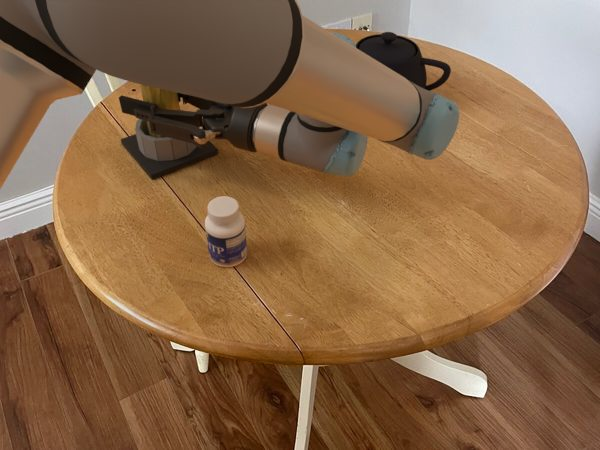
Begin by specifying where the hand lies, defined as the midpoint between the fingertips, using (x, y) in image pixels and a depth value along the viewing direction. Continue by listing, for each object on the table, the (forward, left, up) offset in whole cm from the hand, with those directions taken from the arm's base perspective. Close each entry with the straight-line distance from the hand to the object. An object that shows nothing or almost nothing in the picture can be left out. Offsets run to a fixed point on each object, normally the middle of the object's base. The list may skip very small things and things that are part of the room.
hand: (133, 94), depth 94 cm
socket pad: (+3, -5, -9) cm, 10 cm away
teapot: (+43, -12, -9) cm, 45 cm away
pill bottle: (-2, -32, -9) cm, 33 cm away
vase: (+3, -5, -8) cm, 10 cm away
